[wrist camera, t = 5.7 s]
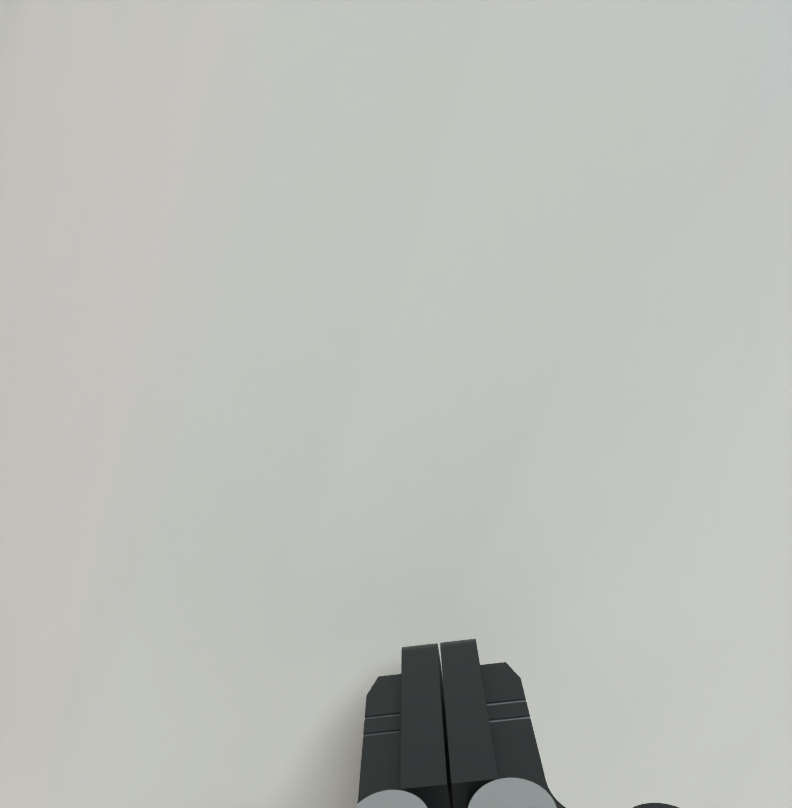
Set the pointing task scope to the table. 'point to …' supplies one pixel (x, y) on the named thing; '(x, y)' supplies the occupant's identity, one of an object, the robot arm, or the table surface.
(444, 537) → the table surface
